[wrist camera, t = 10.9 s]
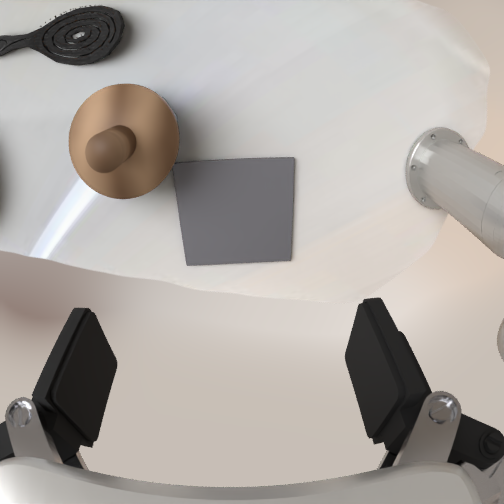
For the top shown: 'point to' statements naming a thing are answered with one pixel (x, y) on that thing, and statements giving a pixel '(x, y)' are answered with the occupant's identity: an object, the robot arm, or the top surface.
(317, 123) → the top surface
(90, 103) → the lid
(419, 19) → the top surface
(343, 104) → the top surface
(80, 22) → the hairbrush
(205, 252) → the mat
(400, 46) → the top surface
